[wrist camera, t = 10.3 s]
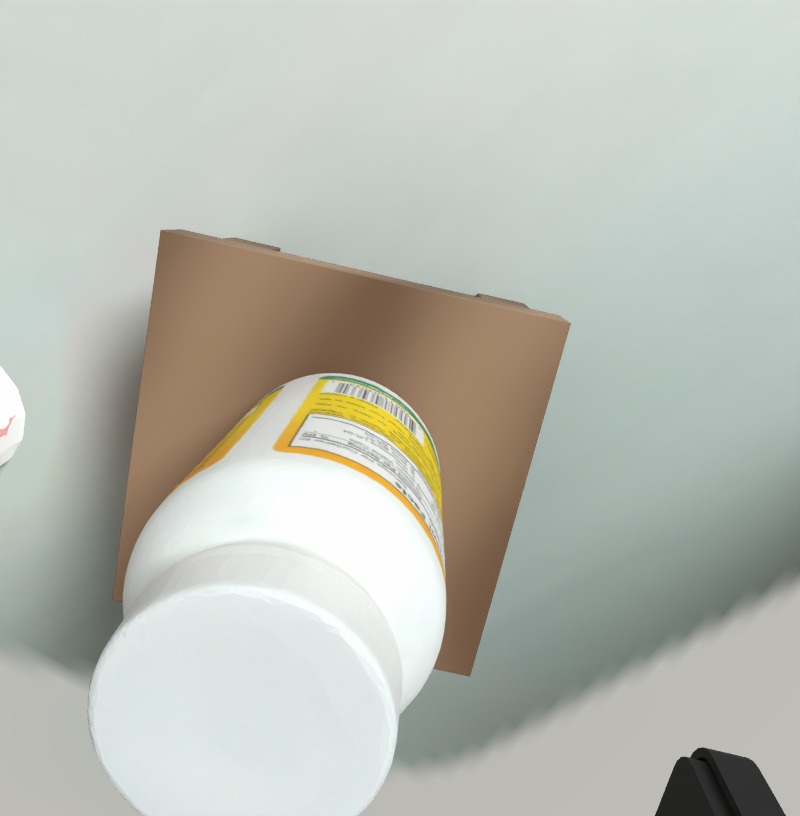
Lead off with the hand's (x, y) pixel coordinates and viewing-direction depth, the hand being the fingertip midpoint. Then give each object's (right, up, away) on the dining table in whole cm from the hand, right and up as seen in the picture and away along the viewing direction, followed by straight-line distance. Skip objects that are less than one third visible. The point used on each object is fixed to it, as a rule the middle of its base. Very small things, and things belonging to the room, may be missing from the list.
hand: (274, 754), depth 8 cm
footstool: (0, +4, +16) cm, 16 cm away
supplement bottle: (0, +3, +10) cm, 10 cm away
